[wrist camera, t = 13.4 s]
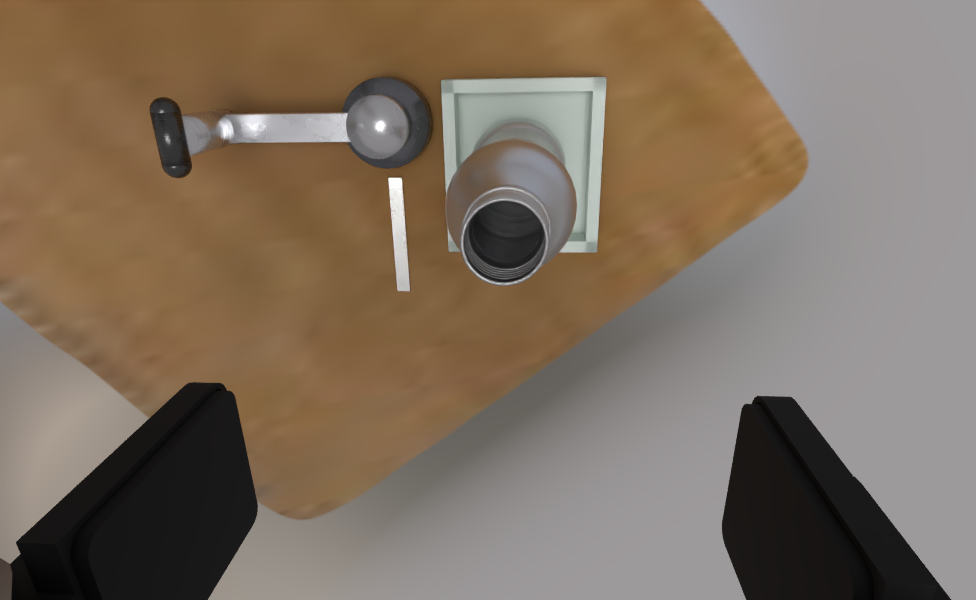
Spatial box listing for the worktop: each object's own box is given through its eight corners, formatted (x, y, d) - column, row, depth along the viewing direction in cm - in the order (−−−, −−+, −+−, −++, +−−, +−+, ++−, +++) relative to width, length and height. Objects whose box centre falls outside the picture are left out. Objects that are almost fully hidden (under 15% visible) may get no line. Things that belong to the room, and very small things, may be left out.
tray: (447, 78, 41) (440, 80, 38) (601, 76, 40) (606, 77, 37) (454, 239, 45) (448, 251, 42) (593, 240, 44) (596, 252, 41)
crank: (409, 88, 39) (381, 94, 32) (414, 158, 41) (388, 179, 33) (205, 91, 40) (133, 98, 33) (218, 160, 42) (152, 180, 35)
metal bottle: (461, 192, 43) (404, 292, 24) (490, 100, 40) (451, 132, 22) (544, 221, 43) (550, 341, 25) (578, 131, 40) (613, 189, 22)
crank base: (345, 77, 41) (336, 78, 39) (430, 76, 41) (425, 76, 39) (367, 289, 47) (360, 299, 45) (441, 290, 47) (437, 300, 45)
